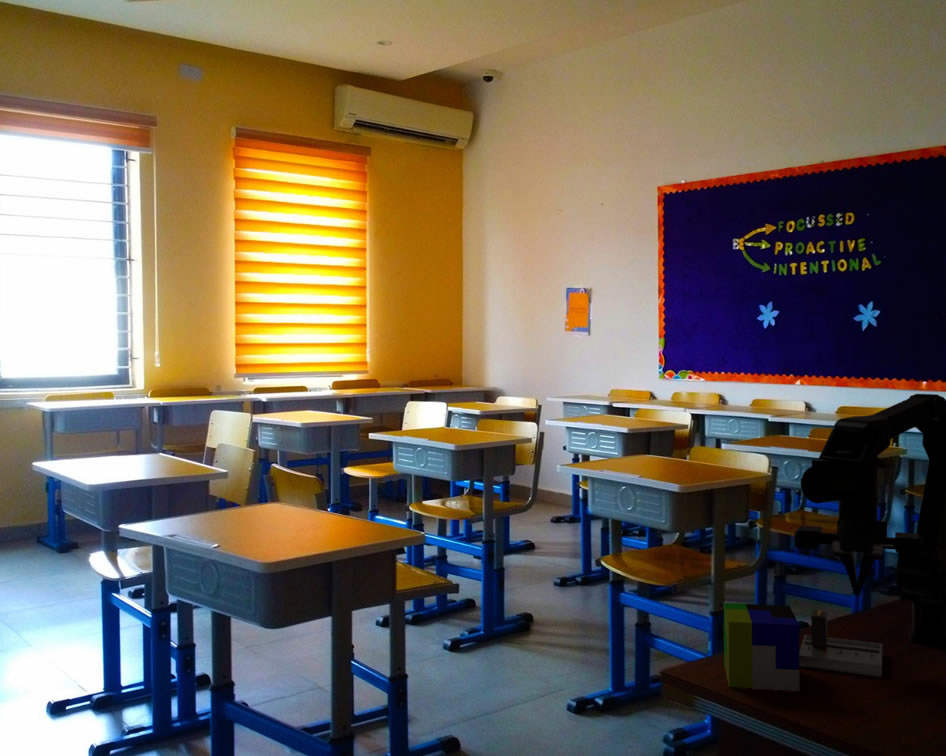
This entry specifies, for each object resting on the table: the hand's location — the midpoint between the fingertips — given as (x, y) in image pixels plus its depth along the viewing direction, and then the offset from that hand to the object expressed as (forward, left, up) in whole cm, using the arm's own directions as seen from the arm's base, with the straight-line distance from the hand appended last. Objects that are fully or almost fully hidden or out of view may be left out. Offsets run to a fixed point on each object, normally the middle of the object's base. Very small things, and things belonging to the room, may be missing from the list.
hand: (857, 594), depth 144 cm
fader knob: (0, -6, -9) cm, 10 cm away
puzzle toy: (+13, -13, -11) cm, 22 cm away
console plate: (+1, -2, -11) cm, 11 cm away
